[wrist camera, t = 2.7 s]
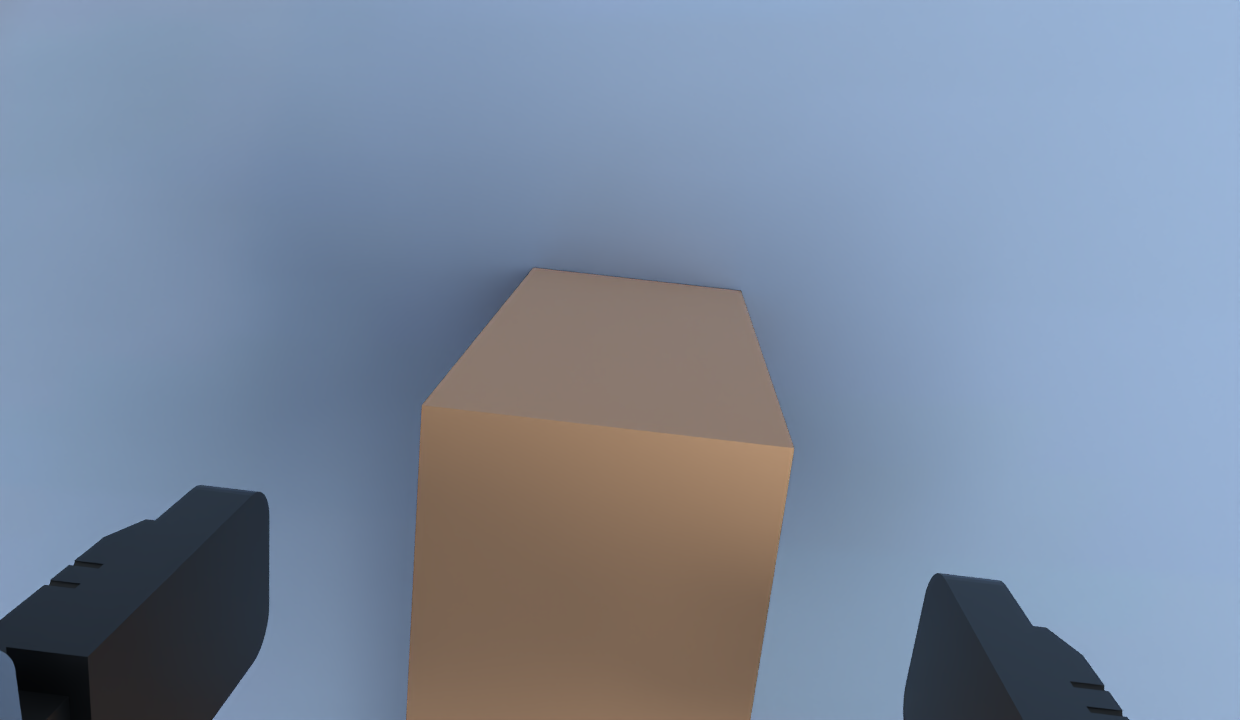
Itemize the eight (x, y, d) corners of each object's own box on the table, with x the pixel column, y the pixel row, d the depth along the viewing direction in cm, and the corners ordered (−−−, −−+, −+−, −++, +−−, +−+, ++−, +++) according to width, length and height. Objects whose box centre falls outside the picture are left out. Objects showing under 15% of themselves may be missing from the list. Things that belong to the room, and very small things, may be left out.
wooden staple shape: (668, 812, 22) (664, 1249, 13) (491, 790, 22) (382, 1210, 14) (740, 290, 18) (794, 447, 10) (533, 267, 19) (421, 404, 10)
